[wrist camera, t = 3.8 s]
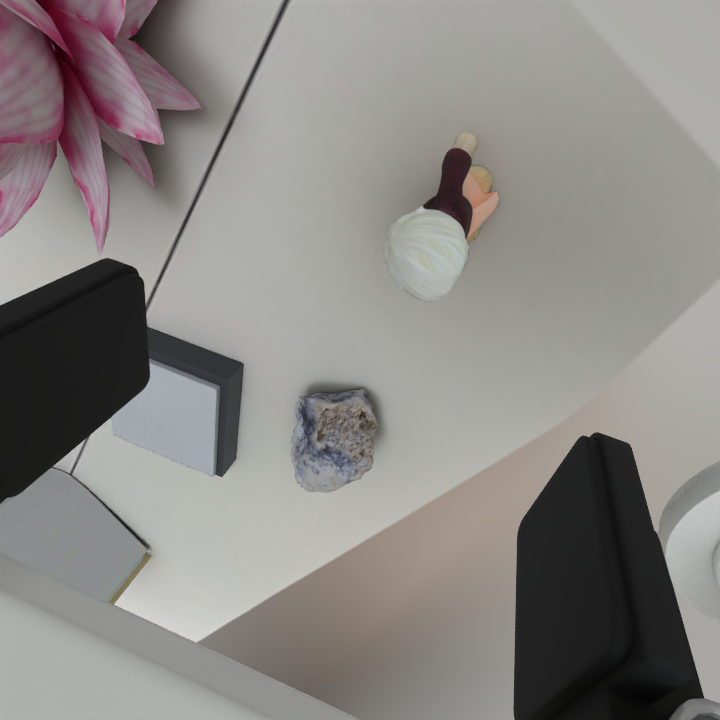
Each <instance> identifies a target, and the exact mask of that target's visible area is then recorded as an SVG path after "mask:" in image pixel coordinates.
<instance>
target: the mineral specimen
mask: <svg viewBox="0 0 720 720" xmlns="http://www.w3.org/2000/svg"><path fill="white" fill-rule="evenodd" d="M296 418H297V419H298V424H297V426H296V428H295V429H294V433H293V436H292V444H293V446H292V450H291V457H292V462H293V465H294V467H295V479H296V481H297V483H299V484H300V485H301V487H303V488H304V489H305V490H306V491H307V492H331V491H334V490H337V489H339V488H340V487H342V486H344V485H346V484H348V483H350V482H352V481H355V480H358V479H361V477H362V475H363V474H364V473H365V472H366V471H369V470H370V469H371V468H372V464H373V455H374V451H373V445H374V444H373V438H374V437H375V433H376V431H377V430H378V429H377V427H378V423H377V420H376V418H375V416H374V410H373V407H372V403H371V401H370V399H369V397H368V395H367V393H366V392H365V391H364V389H360V390H351V391H346V392H341V393H332V394H326V393H315V394H312V395H311V396H304V397H300V398H299V400H298V402H297V403H296Z"/></svg>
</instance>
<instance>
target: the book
mask: <svg viewBox="0 0 720 720" xmlns="http://www.w3.org/2000/svg"><path fill="white" fill-rule="evenodd" d="M146 552H149V550H148V549H147V548H146V547H145V546H144V545H143V544H142V543H141V542H140V541H139V540H138V539H137V538H136V537H135V536H134V535H133V534H132V533H131V532H130V531H129V530H128V529H127V528H126V527H125V526H124V525H123V524H122V523H121V522H120V521H119V520H118V519H117V518H116V517H115V516H114V515H113V514H112V513H111V512H110V511H109V510H108V509H107V508H106V507H105V505H104V504H103V503H102V502H101V501H100V500H99V499H98V498H97V497H95V496H94V495H93V494H92V493H91V492H90V491H89V490H88V489H87V488H86V487H85V486H84V485H83V484H81V483H80V482H79V481H78V480H76V479H75V478H74V477H73V476H71V475H70V474H68V473H66V472H64V471H61V470H59V469H54V468H50V469H49V470H48V471H47V472H45V473H44V474H43V475H42V476H41V477H39V478H38V479H37V480H36V481H35V482H33V483H32V484H31V485H30V486H29V487H28V488H26V489H25V490H24V491H23V492H21V493H20V494H19V495H17V496H15V497H10V498H7V499H5V500H4V501H3V502H2V503H1V504H0V553H2V554H5V555H7V556H9V557H11V558H13V559H16V560H18V561H20V562H22V563H24V564H26V565H29V566H31V567H33V568H35V569H37V570H40V571H42V572H44V573H46V574H48V575H51V576H53V577H55V578H57V579H59V580H61V581H64V582H66V583H68V584H70V585H72V586H74V587H76V588H79V589H81V590H83V591H85V592H87V593H89V594H92V595H94V596H96V597H98V598H100V599H102V600H105V601H107V602H109V603H111V604H113V605H114V603H115V602H116V601H117V600H118V598H119V597H120V596H121V594H122V593H123V592H124V591H125V589H126V588H127V587H128V586H129V584H130V583H131V582H132V581H133V579H134V578H135V577H136V575H137V574H138V573H139V572H140V570H141V569H142V568H143V567H144V565H145V564H146V563H147V562H148V560H149V559H150V556H148V555H147V554H146Z"/></svg>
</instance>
